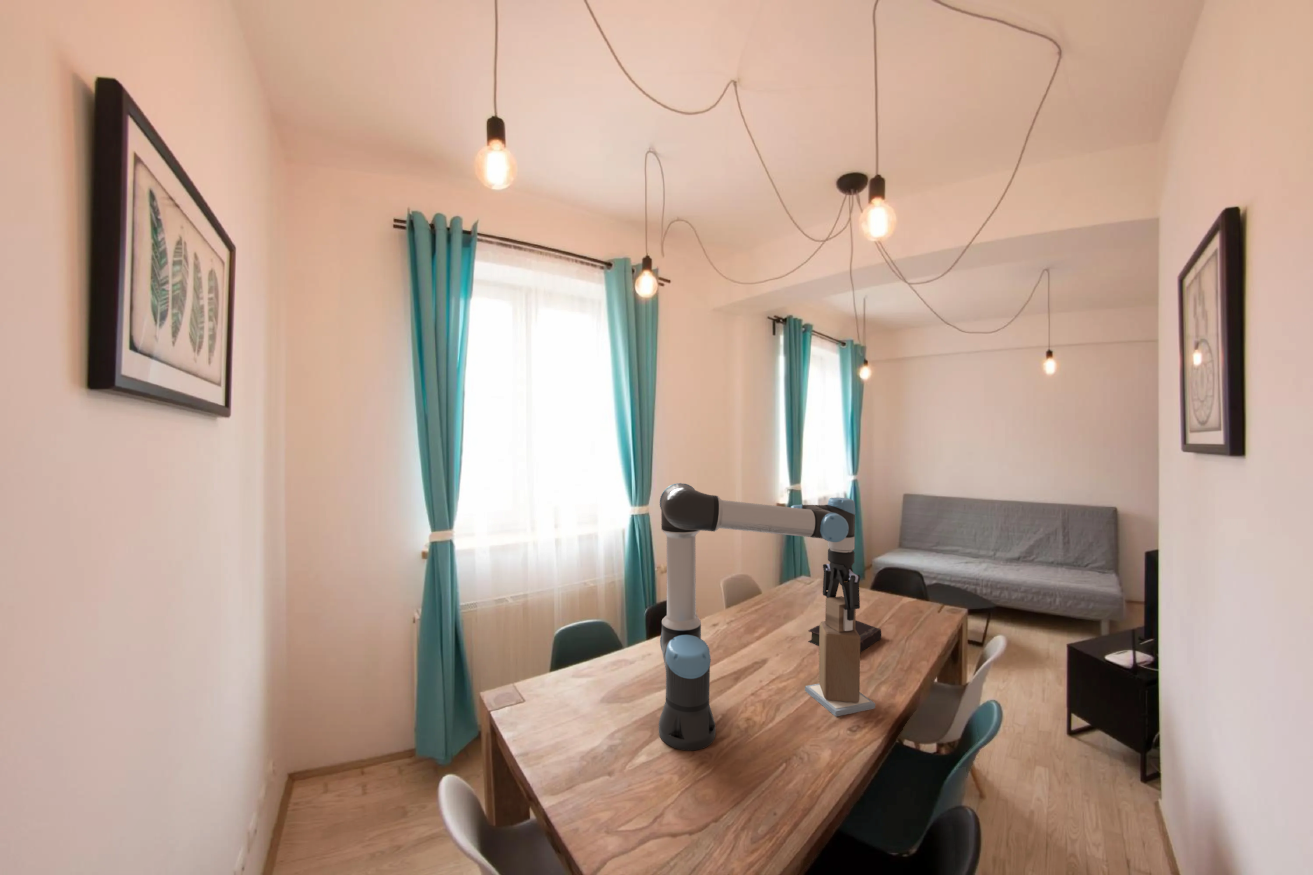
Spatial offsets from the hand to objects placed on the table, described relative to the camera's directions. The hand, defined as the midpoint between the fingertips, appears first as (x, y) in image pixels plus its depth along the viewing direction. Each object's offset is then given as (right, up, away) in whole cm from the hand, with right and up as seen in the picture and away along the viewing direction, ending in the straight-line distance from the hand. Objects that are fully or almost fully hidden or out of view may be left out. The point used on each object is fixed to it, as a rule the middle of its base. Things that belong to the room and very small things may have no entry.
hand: (840, 625), depth 140 cm
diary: (+18, -23, +42) cm, 51 cm away
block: (-1, -21, 0) cm, 21 cm away
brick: (0, 0, 0) cm, 0 cm away
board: (0, -22, 0) cm, 22 cm away
